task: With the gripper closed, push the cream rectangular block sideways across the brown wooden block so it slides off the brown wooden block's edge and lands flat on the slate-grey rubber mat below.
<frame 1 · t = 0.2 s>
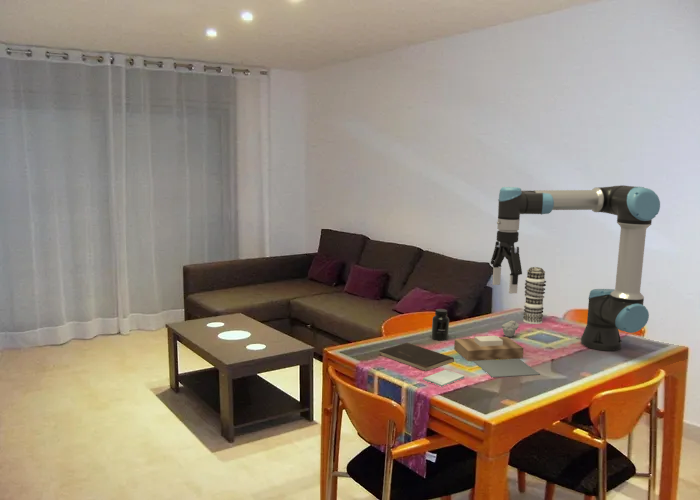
hand: (504, 288, 221), 28 cm above the table, fingers open, 13 cm apart
mat: (506, 368, 219), on the table
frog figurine: (509, 337, 256), on the table
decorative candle: (532, 321, 279), on the table
hardcover book: (416, 360, 228), on the table
supplement bottle: (439, 338, 252), on the table
cream rectangular block: (488, 343, 234), point 4 cm above the table, touching brown wooden block
hard drive: (443, 381, 207), on the table
brown wooden block: (487, 353, 234), on the table
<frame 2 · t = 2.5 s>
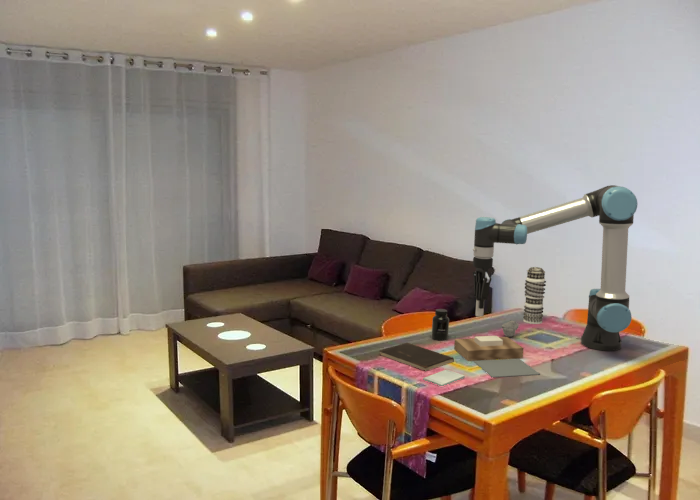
hand: (479, 315, 241), 12 cm above the table, fingers closed
nothing on the table moved.
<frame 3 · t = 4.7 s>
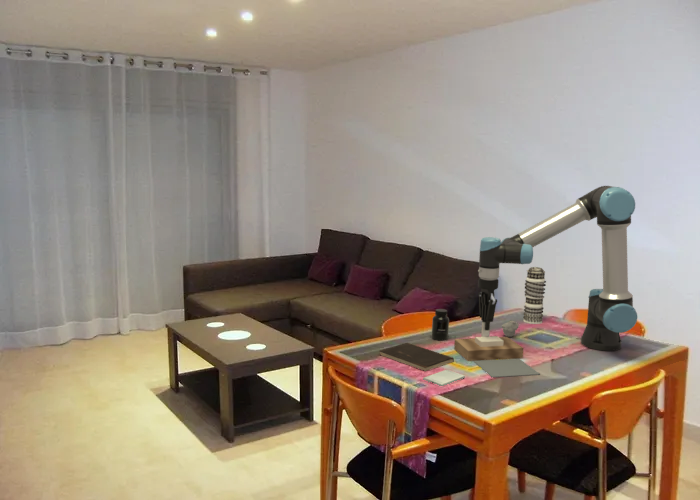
hand: (485, 337, 236), 5 cm above the table, fingers closed
cream rectangular block: (488, 343, 233), point 4 cm above the table
everything else where it was.
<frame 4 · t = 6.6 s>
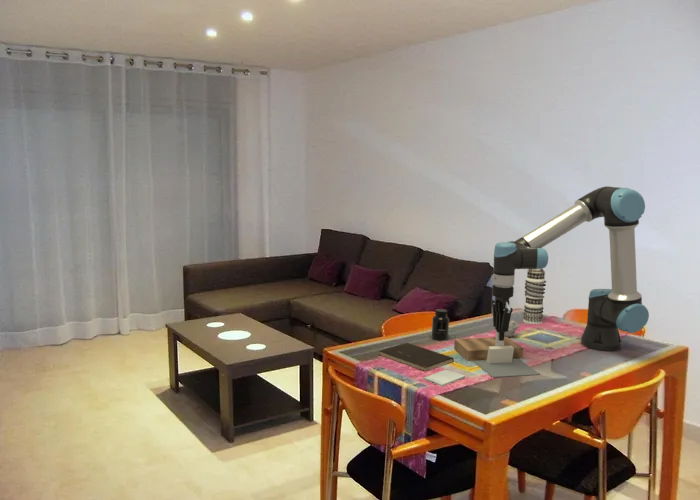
hand: (499, 348, 224), 5 cm above the table, fingers closed
cream rectangular block: (499, 353, 224), point 4 cm above the table, tilted 101°, touching mat
everything else where it was.
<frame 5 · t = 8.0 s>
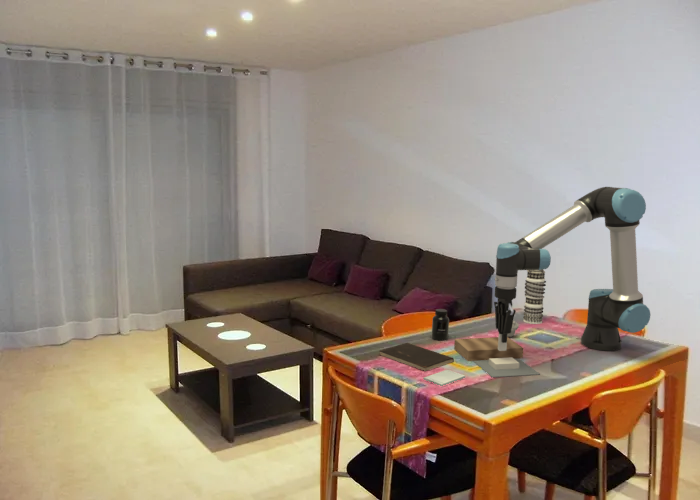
hand: (502, 350, 222), 5 cm above the table, fingers closed
cream rectangular block: (504, 360, 219), point 2 cm above the table, tilted 180°, touching mat
everything else where it was.
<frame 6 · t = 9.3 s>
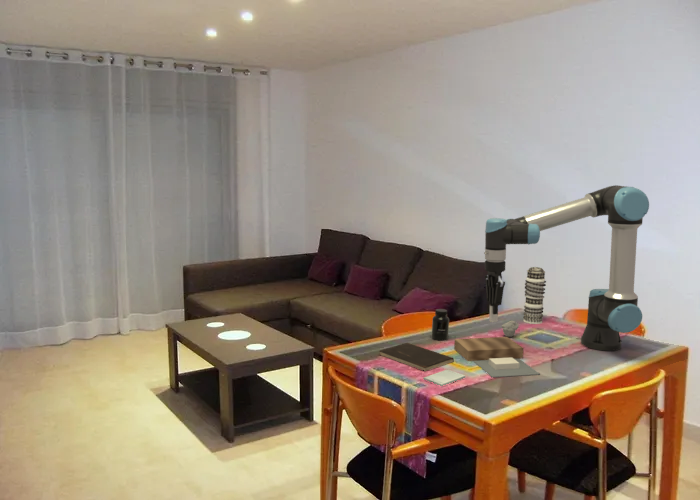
hand: (493, 321, 230), 13 cm above the table, fingers closed
nothing on the table moved.
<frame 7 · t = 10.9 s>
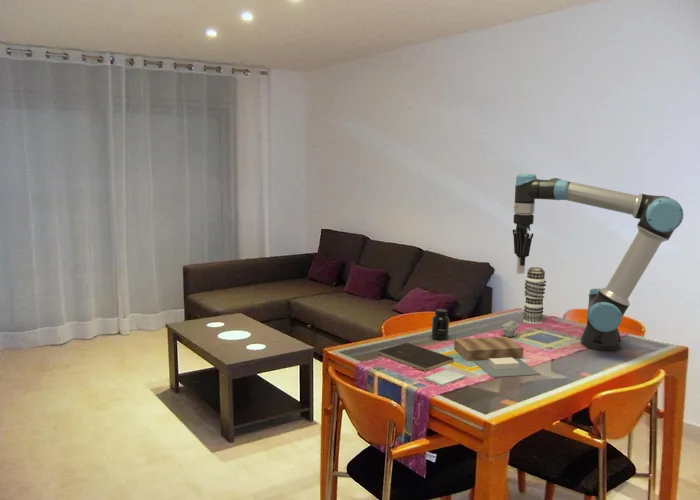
hand: (520, 273, 241), 29 cm above the table, fingers closed
nothing on the table moved.
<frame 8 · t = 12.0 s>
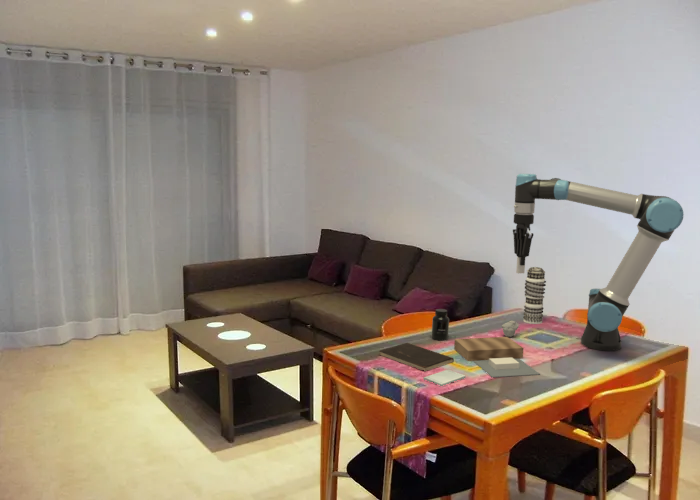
hand: (520, 272, 241), 29 cm above the table, fingers closed
nothing on the table moved.
at the end: cream rectangular block point 2.3 cm above the table; cream rectangular block inside the target area on the mat (1.3 cm from its centre), point 2.3 cm above the mat's base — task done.
